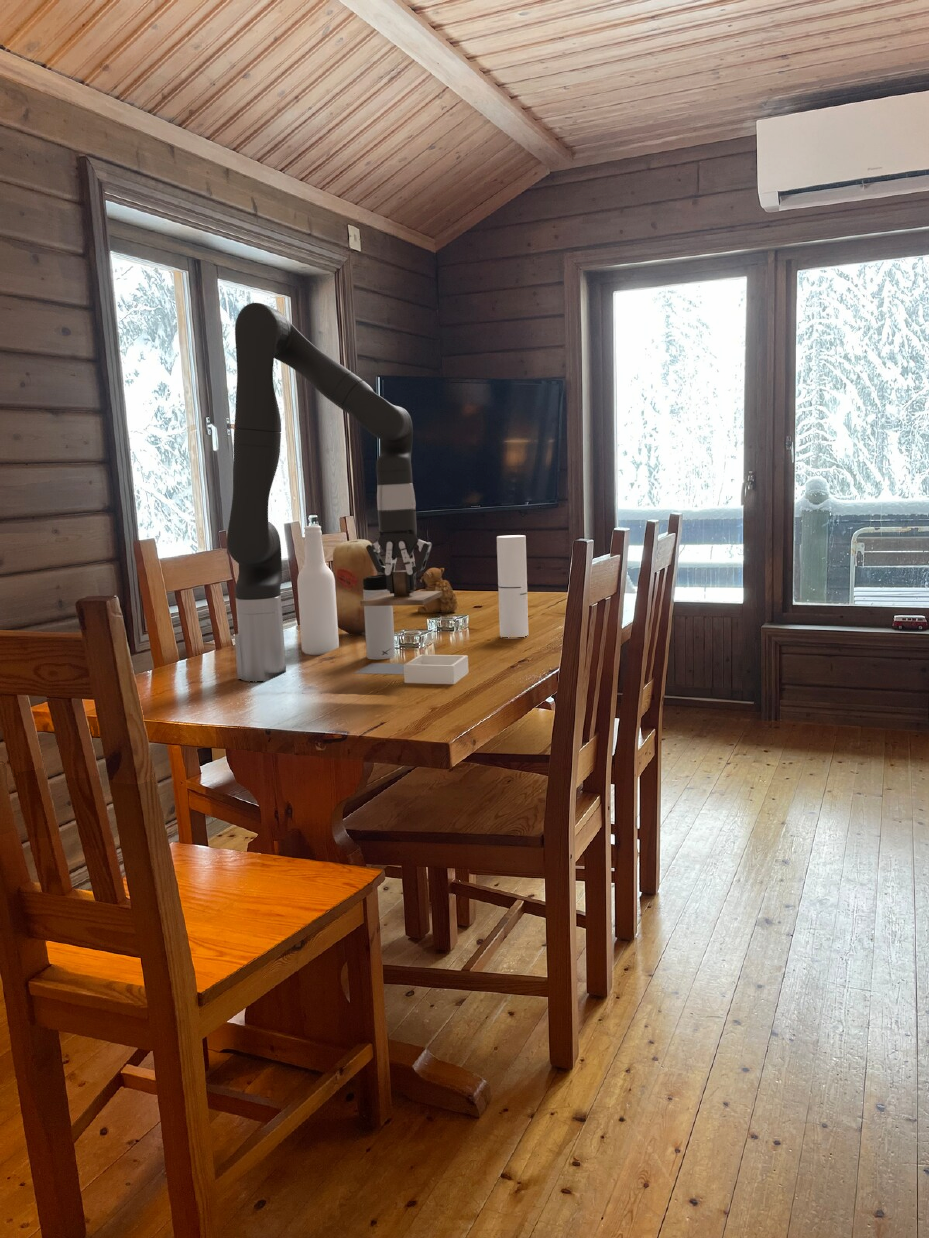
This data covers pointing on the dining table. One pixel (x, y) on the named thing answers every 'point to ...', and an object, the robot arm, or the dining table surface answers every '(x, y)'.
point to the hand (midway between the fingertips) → (402, 592)
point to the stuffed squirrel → (437, 584)
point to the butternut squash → (351, 583)
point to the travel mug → (378, 621)
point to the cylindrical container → (512, 585)
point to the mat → (383, 668)
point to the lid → (401, 594)
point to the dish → (436, 669)
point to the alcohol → (317, 598)
